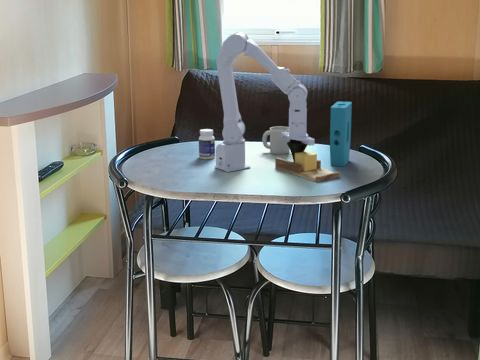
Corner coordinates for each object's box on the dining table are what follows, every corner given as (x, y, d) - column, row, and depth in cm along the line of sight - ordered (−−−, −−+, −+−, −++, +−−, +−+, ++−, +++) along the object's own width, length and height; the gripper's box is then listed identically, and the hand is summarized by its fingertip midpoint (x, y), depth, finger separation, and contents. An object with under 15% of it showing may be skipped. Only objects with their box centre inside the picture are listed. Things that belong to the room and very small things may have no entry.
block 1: (304, 171, 216) (305, 156, 214) (294, 168, 220) (294, 153, 218) (316, 168, 219) (316, 153, 217) (306, 165, 223) (306, 151, 221)
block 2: (343, 167, 224) (345, 108, 219) (328, 166, 226) (330, 107, 220) (350, 158, 235) (352, 102, 229) (336, 157, 237) (337, 101, 231)
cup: (288, 155, 241) (288, 130, 239) (260, 154, 243) (260, 130, 241) (290, 150, 248) (291, 126, 246) (264, 149, 250) (263, 125, 248)
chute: (317, 182, 208) (317, 171, 207) (275, 168, 225) (275, 157, 224) (339, 177, 213) (340, 166, 212) (297, 163, 230) (297, 153, 229)
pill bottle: (214, 159, 237) (214, 131, 234) (198, 159, 237) (197, 131, 234) (215, 155, 242) (214, 128, 239) (199, 155, 242) (198, 128, 240)
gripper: (322, 124, 215) (321, 165, 219) (292, 117, 226) (292, 156, 230) (305, 127, 211) (304, 168, 215) (276, 120, 222) (276, 159, 226)
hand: (297, 162), depth 222 cm, fingers closed
